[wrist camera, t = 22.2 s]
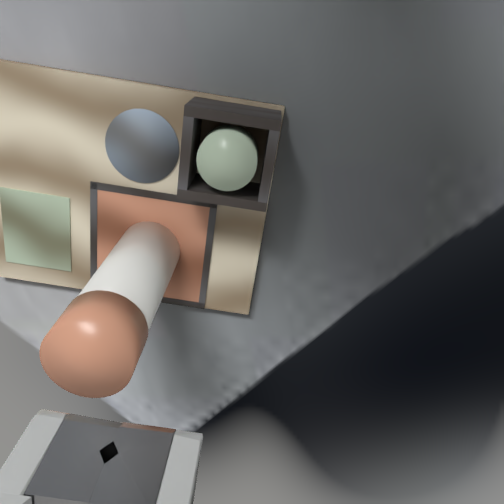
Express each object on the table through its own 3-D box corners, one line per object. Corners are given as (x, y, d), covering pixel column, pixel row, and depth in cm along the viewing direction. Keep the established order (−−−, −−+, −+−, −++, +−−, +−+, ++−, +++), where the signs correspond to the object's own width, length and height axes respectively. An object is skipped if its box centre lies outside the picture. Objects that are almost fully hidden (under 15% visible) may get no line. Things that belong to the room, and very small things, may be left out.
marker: (120, 215, 33) (36, 316, 22) (183, 225, 33) (134, 330, 22) (119, 271, 35) (42, 390, 24) (178, 280, 35) (131, 403, 24)
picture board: (-21, 55, 30) (-69, 60, 26) (284, 105, 30) (286, 118, 26) (0, 271, 37) (-34, 301, 33) (248, 309, 37) (245, 344, 33)
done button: (204, 120, 28) (199, 126, 27) (262, 129, 28) (261, 136, 27) (198, 176, 30) (193, 186, 28) (253, 185, 30) (252, 195, 28)
